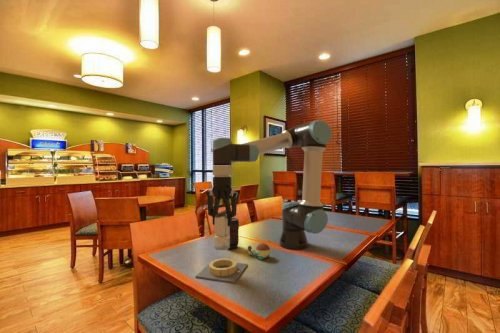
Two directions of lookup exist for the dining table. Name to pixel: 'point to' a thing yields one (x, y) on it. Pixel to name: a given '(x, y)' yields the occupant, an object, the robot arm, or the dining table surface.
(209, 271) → the mount
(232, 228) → the camera lens
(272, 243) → the dining table surface
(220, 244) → the white pillar stand
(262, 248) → the figurine
